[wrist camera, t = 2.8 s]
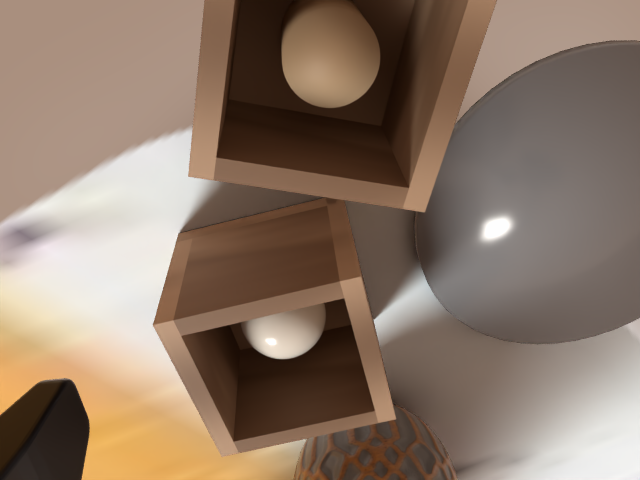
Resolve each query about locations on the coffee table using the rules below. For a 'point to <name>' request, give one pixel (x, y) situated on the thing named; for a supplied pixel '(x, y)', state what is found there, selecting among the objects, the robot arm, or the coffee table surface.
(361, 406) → the box
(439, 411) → the coffee table surface
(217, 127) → the box
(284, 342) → the ball
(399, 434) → the vase
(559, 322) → the coaster
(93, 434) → the coffee table surface
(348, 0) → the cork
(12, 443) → the robot arm
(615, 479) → the coffee table surface
